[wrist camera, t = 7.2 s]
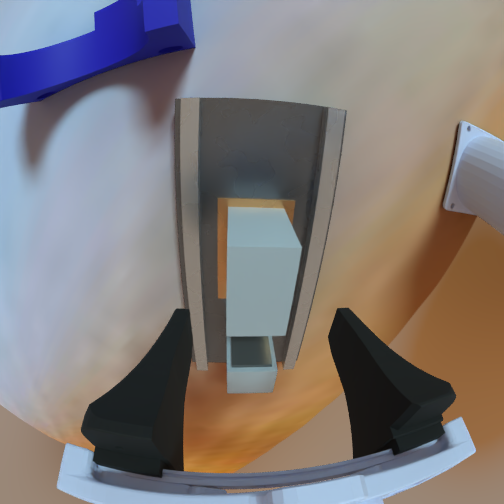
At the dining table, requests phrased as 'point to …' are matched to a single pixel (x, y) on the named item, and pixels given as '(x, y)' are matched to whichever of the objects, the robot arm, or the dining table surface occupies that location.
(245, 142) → the rail
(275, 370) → the small hollow grey box
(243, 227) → the pale grey block
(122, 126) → the dining table surface
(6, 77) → the cable clip
